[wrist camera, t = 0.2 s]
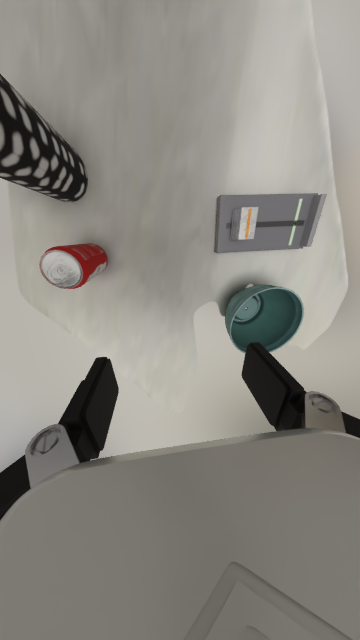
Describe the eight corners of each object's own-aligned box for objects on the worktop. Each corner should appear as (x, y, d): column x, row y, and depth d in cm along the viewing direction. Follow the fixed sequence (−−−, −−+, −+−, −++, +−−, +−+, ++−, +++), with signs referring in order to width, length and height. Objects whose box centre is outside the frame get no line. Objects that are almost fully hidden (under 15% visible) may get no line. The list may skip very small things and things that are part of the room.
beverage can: (73, 250, 34) (17, 258, 20) (101, 237, 33) (63, 237, 20) (90, 276, 36) (51, 299, 23) (117, 265, 36) (92, 282, 23)
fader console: (217, 197, 32) (224, 192, 29) (310, 195, 34) (327, 190, 30) (214, 252, 37) (220, 253, 33) (296, 247, 39) (310, 248, 35)
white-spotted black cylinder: (93, 202, 30) (1, 152, 13) (45, 202, 30) (-123, 150, 12) (79, 140, 27) (-79, -54, 9) (24, 138, 26) (-268, -77, 8)
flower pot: (210, 286, 40) (226, 301, 31) (272, 268, 40) (308, 277, 31) (218, 337, 48) (233, 362, 38) (271, 322, 48) (300, 344, 38)
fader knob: (232, 210, 32) (242, 207, 28) (247, 210, 32) (258, 206, 28) (230, 239, 34) (238, 239, 30) (243, 238, 34) (253, 238, 31)
